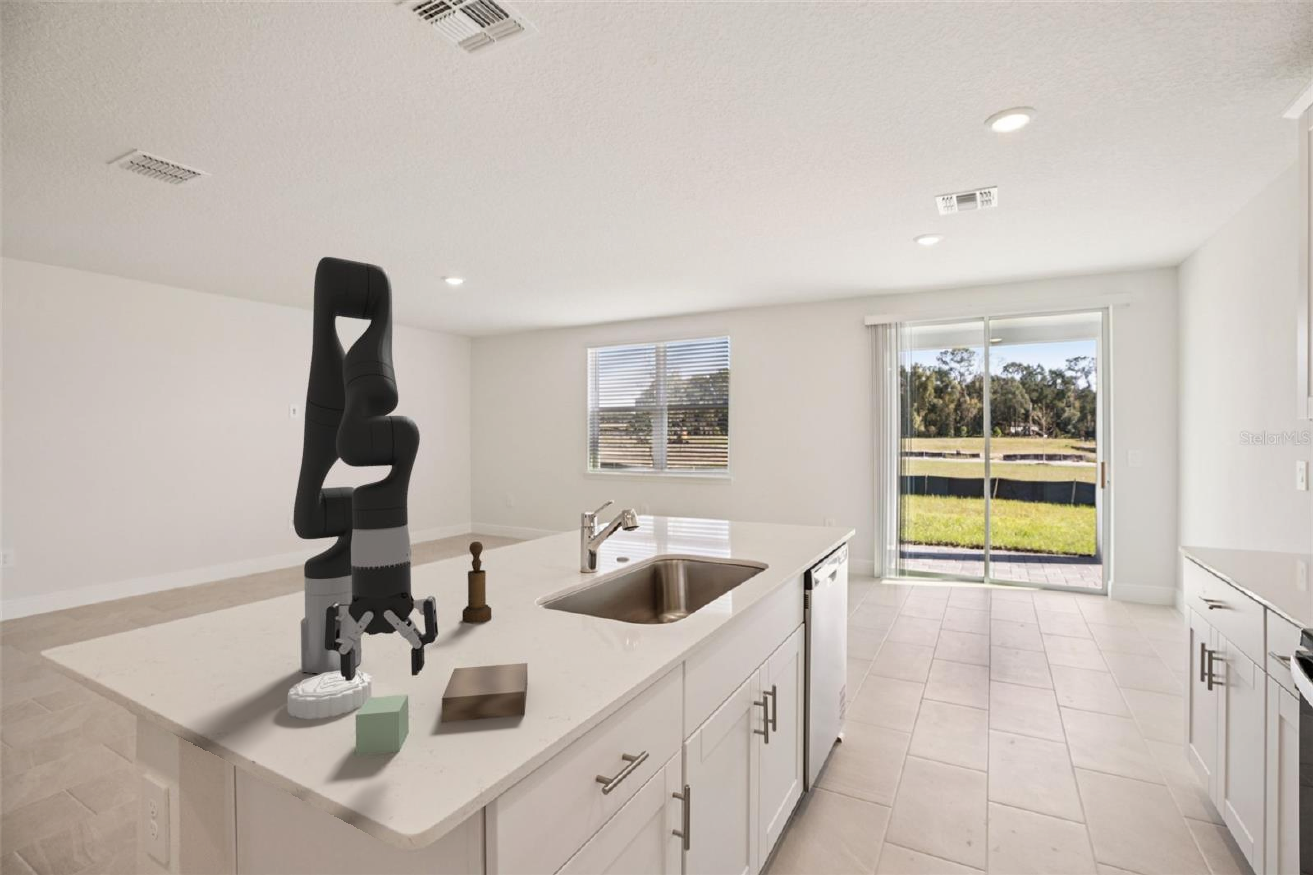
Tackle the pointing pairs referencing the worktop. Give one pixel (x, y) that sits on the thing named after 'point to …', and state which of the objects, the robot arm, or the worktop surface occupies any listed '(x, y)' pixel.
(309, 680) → the mooncake
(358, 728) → the sage block
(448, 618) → the worktop surface
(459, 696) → the walnut block
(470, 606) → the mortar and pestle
